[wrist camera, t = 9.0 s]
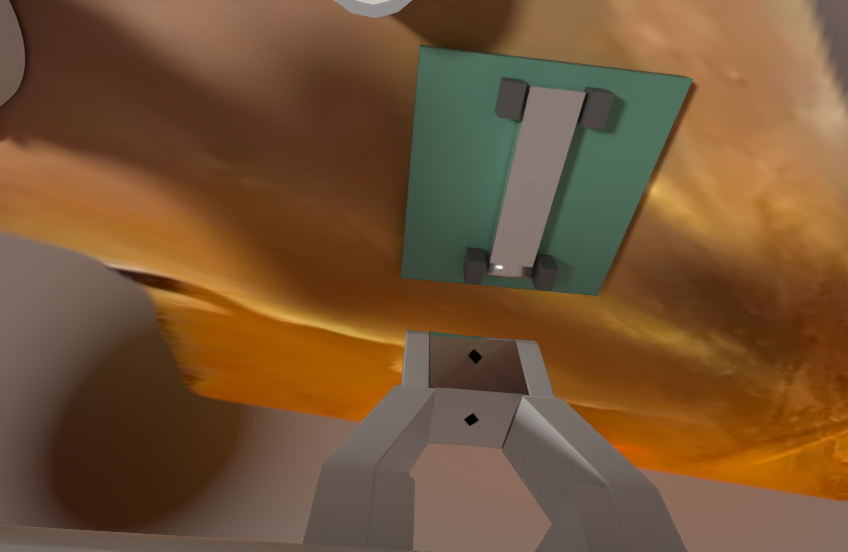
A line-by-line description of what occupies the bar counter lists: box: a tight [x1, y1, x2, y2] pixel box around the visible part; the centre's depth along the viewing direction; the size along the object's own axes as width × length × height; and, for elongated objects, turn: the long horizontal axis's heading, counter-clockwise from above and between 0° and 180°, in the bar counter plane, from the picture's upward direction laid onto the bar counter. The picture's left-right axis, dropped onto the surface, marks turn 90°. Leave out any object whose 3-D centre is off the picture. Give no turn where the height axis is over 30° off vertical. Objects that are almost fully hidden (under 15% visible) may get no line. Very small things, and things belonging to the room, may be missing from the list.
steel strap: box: [485, 84, 586, 279], centre depth 33 cm, size 4×16×2 cm, turn 174°
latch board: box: [401, 45, 693, 296], centre depth 34 cm, size 20×20×4 cm
